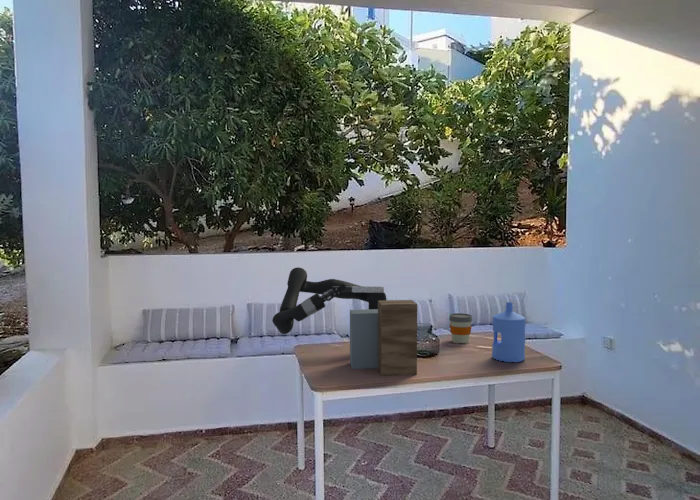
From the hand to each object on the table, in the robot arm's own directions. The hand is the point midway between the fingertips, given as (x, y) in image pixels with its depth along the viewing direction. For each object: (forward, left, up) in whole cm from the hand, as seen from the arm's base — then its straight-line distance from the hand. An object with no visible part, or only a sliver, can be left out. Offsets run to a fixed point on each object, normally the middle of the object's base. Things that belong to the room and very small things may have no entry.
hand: (344, 285), depth 246 cm
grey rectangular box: (0, +13, -38) cm, 41 cm away
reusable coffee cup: (-40, +69, -39) cm, 89 cm away
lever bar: (0, +6, -3) cm, 7 cm away
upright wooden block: (+11, +23, -38) cm, 46 cm away
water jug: (-4, +82, -39) cm, 91 cm away
